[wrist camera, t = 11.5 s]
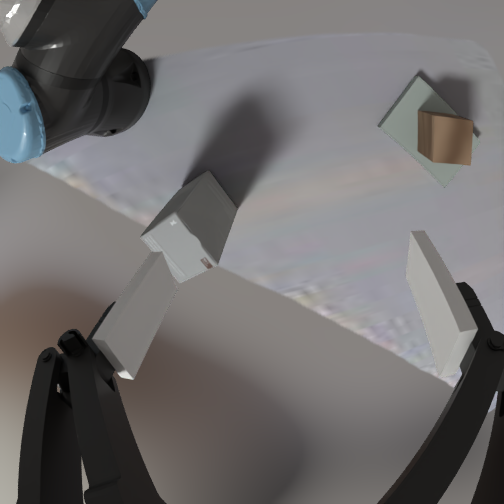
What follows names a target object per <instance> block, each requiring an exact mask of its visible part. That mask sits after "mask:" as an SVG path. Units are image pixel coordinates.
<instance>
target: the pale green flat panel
mask: <svg viewBox="0 0 504 504" xmlns="http://www.w3.org/2000/svg"><path fill="white" fill-rule="evenodd" d="M418 110H420V111H430V112H439V113H447V114H454V115H457V114H456V113H455V112H454V111H453V110H452V108H451V107H450V106H449V105H448V104H447V103H446V102H445V101H444V100H443V99H442V98H441V97H440V96H439V95H438V94H437V93H436V92H435V91H434V90H433V89H432V88H431V87H430V86H429V85H428V84H427V83H425V82H424V81H423V80H422V79H421V78H420V77H419V76H415V77H414V78H413V80H412V81H411V82H410V84H409V85H408V86H407V88H406V89H405V90H404V92H403V93H402V94H401V96H400V97H399V98H398V100H397V101H396V102H395V104H394V105H393V106H392V108H391V109H390V110H389V112H388V113H387V114H386V116H385V117H384V118H383V120H382V121H381V122H380V123H379V125H378V127H379V128H380V129H381V130H383V131H384V132H385V133H386V134H387V135H389V136H390V137H391V138H392V139H393V140H394V141H396V142H397V143H398V144H399V145H400V146H401V147H402V148H403V149H405V150H406V151H407V152H408V153H409V154H410V155H411V156H412V157H413V158H414V159H416V160H417V161H418V162H419V163H420V164H421V165H422V166H423V167H424V168H425V169H426V170H427V171H428V172H429V173H430V174H431V175H432V176H433V177H434V178H435V179H436V180H437V181H438V182H439V183H440V184H441V185H442V186H443V187H444V188H445V187H446V186H447V185H448V183H449V182H450V181H451V180H452V178H453V177H454V176H455V175H456V173H457V172H458V171H459V170H460V168H461V167H462V166H463V165H459V164H447V163H433V162H432V161H430V160H429V159H428V158H426V157H425V156H423V155H422V154H421V153H419V152H418V151H417V146H418ZM457 116H458V115H457ZM479 143H480V141H479V140H478V138H477V137H476V136H475V135H474V133H473V139H472V153H473V152H474V150H475V149H476V148H477V146H478V145H479Z"/></svg>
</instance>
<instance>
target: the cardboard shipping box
mask: <svg viewBox="0 0 504 504" xmlns="http://www.w3.org/2000/svg"><path fill="white" fill-rule="evenodd" d="M472 139H473V121H471V120H469V119H466V118H463V117H460V116H457V115H454V114H447V113H439V112H430V111H420V110H418V146H417V151H418V152H419V153H421V154H422V155H423V156H425V157H426V158H428V159H429V160H430V161H432V162H433V163H447V164H459V165H471V154H472Z"/></svg>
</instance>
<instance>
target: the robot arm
mask: <svg viewBox="0 0 504 504" xmlns="http://www.w3.org/2000/svg"><path fill="white" fill-rule="evenodd" d="M156 1H157V0H0V31H1V32H2V33H3V35H4V37H5V40H6V42H7V44H8V46H14V47H20V49H19V51H18V53H17V56H16V58H15V60H14V62H13V65H12V66H11V67H9V66H7V67H4V68H2V69H1V70H0V156H1V157H2V158H3V159H5V160H6V161H9V162H11V163H21V162H24V161H26V160H29V159H31V158H38V157H40V156H41V155H42V154H44V153H46V152H48V151H50V150H52V149H54V148H56V147H58V146H60V145H63V144H65V143H67V142H69V141H72V140H74V139H76V138H79V137H81V136H84V135H92V136H100V137H107V136H113V135H116V134H118V133H121V132H123V131H126V130H127V129H129V128H130V127H132V126H133V125H134V124H135V123H136V122H137V121H138V120H139V119H140V117H141V116H142V114H143V113H144V111H145V109H146V106H147V103H148V100H149V95H150V78H149V74H148V71H147V68H146V66H145V64H144V62H143V61H142V60H141V58H140V57H138V55H136V54H135V53H133V52H132V51H130V50H127V49H123V48H122V46H123V45H124V44H125V42H126V41H127V39H128V38H129V37H130V35H131V34H132V33H133V31H134V30H135V29H136V27H137V26H138V25H139V23H140V22H141V21H142V20H143V19H145V18H146V17H147V13H148V12H149V10H150V9H151V8H152V6H153V5H154V4H155V3H156ZM406 278H407V281H408V283H409V286H410V289H411V291H412V294H413V297H414V299H415V302H416V305H417V308H418V310H419V313H420V316H421V319H422V322H423V325H424V328H425V331H426V334H427V338H428V341H429V344H430V347H431V351H432V354H433V358H434V361H435V365H436V368H437V372H438V376H439V378H442V377H447V376H452V375H455V374H456V372H457V370H458V369H459V367H460V368H461V371H462V376H461V377H460V379H459V381H458V382H457V384H456V386H455V387H454V388H455V389H454V391H453V393H452V395H451V397H450V399H449V401H448V403H447V405H446V407H445V408H444V410H443V412H442V414H441V415H440V417H439V419H438V420H437V422H436V424H435V426H434V427H433V429H432V431H431V432H430V434H429V435H428V437H427V438H426V440H425V441H424V443H423V444H422V446H421V447H420V449H419V450H418V452H417V453H416V455H415V456H414V458H413V459H412V460H411V462H410V463H409V465H408V466H407V467H406V469H405V470H404V471H403V473H402V474H401V475H400V477H399V478H398V479H397V480H396V482H395V483H394V484H393V485H392V487H391V488H390V489H389V490H388V491H387V493H386V494H385V495H384V496H383V498H381V500H380V501H379V502H378V503H377V504H437V503H438V501H439V500H440V499H441V497H442V496H443V494H444V493H445V491H446V490H447V488H448V486H449V485H450V483H451V482H452V480H453V478H454V477H455V475H456V474H457V472H458V470H459V469H460V467H461V465H462V463H463V461H464V460H465V458H466V456H467V454H468V452H469V450H470V448H471V447H472V445H473V443H474V441H475V439H476V436H477V434H478V432H479V430H480V428H481V426H482V424H483V421H484V419H485V417H486V415H487V412H488V410H489V407H490V405H491V402H492V400H493V397H494V395H495V392H496V391H498V395H497V403H496V410H495V416H494V422H493V427H492V432H491V437H490V441H489V446H488V450H487V454H486V458H485V461H484V465H483V469H482V472H481V476H480V479H479V482H478V485H477V488H476V491H475V494H474V496H473V499H472V502H471V504H504V335H503V334H502V333H500V332H498V331H494V329H493V327H492V325H491V323H490V321H489V319H488V317H487V315H486V313H485V311H484V309H483V307H482V306H481V303H480V301H479V299H477V296H476V294H475V292H474V290H473V289H472V288H471V287H470V286H469V285H468V284H467V283H465V282H461V283H455V281H454V280H453V278H452V276H451V274H450V272H449V271H448V269H447V267H446V265H445V264H444V262H443V260H442V258H441V257H440V255H439V253H438V252H437V250H436V248H435V247H434V245H433V244H432V242H431V240H430V239H429V237H428V236H427V234H426V232H425V231H411V234H410V244H409V253H408V261H407V269H406ZM176 292H177V287H176V284H175V282H174V279H173V277H172V274H171V272H170V269H169V267H168V264H167V262H166V259H165V257H164V254H163V252H162V251H161V252H151V253H150V254H149V256H148V257H147V259H146V260H145V262H144V263H143V264H142V265H141V267H140V269H139V270H138V271H137V273H136V274H135V275H134V277H133V278H132V280H131V281H130V282H129V284H128V285H127V287H126V288H125V289H124V291H123V292H122V294H121V295H120V297H119V298H118V300H117V301H116V302H113V303H112V304H111V305H110V306H109V307H108V308H107V309H106V311H105V312H104V313H103V315H102V317H101V318H100V320H99V322H98V323H97V324H96V325H95V327H94V329H93V330H92V332H91V333H90V335H89V337H88V338H87V340H85V339H84V337H83V336H82V334H81V333H80V332H79V331H78V330H77V329H71V330H68V331H67V332H65V333H64V334H63V335H62V336H61V337H60V338H59V340H58V344H57V345H58V346H59V347H60V349H61V350H62V351H63V352H64V353H63V354H59V353H58V351H57V350H56V349H55V348H53V347H50V348H47V349H45V350H44V351H42V353H41V354H40V355H39V357H38V360H37V364H36V368H35V372H34V376H33V380H32V385H31V389H30V394H29V399H28V404H27V409H26V415H25V421H24V427H23V435H22V443H21V451H20V462H19V479H18V500H17V503H16V504H84V503H83V491H82V471H81V470H82V469H81V456H82V460H83V464H84V468H85V472H86V476H87V479H88V483H89V489H87V490H86V491H85V492H84V499H85V503H86V504H166V503H165V502H164V501H163V500H162V499H161V497H160V496H159V494H158V493H157V491H156V488H155V486H154V484H153V482H152V480H151V478H150V475H149V473H148V471H147V468H146V466H145V464H144V461H143V459H142V456H141V454H140V451H139V449H138V446H137V444H136V441H135V438H134V436H133V433H132V430H131V427H130V424H129V421H128V419H127V416H126V413H125V409H124V406H123V403H122V400H121V396H120V393H119V390H118V386H117V383H116V380H115V378H114V377H113V373H114V371H115V370H116V371H117V373H118V374H119V375H120V377H122V378H127V379H134V378H135V375H136V373H137V371H138V369H139V367H140V365H141V363H142V361H143V359H144V356H145V354H146V352H147V350H148V348H149V346H150V344H151V342H152V340H153V338H154V336H155V334H156V332H157V330H158V327H159V326H160V324H161V322H162V320H163V318H164V316H165V314H166V312H167V310H168V308H169V306H170V304H171V302H172V300H173V298H174V296H175V294H176ZM57 386H58V387H59V388H60V393H58V392H57Z"/></svg>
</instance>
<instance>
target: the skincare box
mask: <svg viewBox="0 0 504 504" xmlns="http://www.w3.org/2000/svg"><path fill="white" fill-rule="evenodd" d="M237 210H238V209H237V208H236V206H235V205H234V204H233V202H232V201H231V199H230V198H229V197H228V195H227V194H226V193H225V191H224V190H223V189H222V187H221V186H220V184H219V183H218V182H217V180H216V179H215V178H214V176H213V175H212V174H211V172H210V171H209V170H208V171H206V172H205V173H203V174H202V175H200V176H199V177H197V178H196V179H194V180H193V181H191V182H190V183H188V184H187V185H185V186H184V187H182V188H181V189H180V190H178V192H177V193H176V194H175V195H174V196H173V197H172V198H171V200H170V201H169V202H168V203H167V204H166V205H165V207H164V208H163V209H162V210H161V211H160V213H159V214H158V215H157V216H156V217H155V219H154V220H153V221H152V222H151V224H150V225H149V226H148V227H147V229H146V230H145V231H144V232H143V234H142V235H141V236H140V238H141V239H142V240H143V241H144V242H145V244H146V245H147V246H148V247H149V248H150V250H151V251H152V252H161V251H162V252H163V254H164V257H165V259H166V262H167V264H168V267H169V269H170V272H171V274H172V275H173V276H174V277H175V278H176V280H177V281H178V282H179V283H182V282H184V281H186V280H188V279H190V278H192V277H194V276H197V275H199V274H201V273H203V272H205V271H207V270H209V269H211V268H213V267H215V266H217V265H218V263H219V260H220V257H221V254H222V251H223V248H224V246H225V243H226V240H227V237H228V235H229V232H230V229H231V226H232V224H233V221H234V218H235V215H236V213H237Z"/></svg>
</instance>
